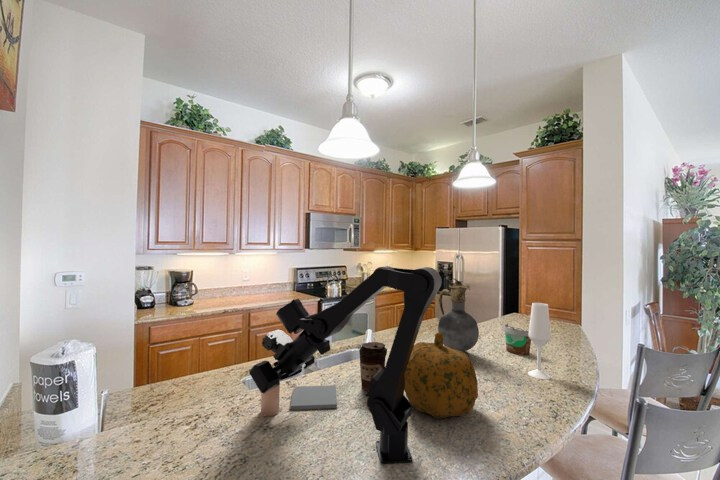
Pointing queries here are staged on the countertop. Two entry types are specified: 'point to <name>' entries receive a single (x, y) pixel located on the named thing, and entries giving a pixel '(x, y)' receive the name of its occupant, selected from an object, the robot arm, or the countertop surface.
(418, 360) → the decorative pumpkin
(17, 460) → the countertop surface
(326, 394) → the mat
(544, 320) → the champagne flute
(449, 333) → the pitcher
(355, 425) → the countertop surface
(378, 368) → the coffee cup
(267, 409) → the terracotta canister
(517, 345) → the food container
